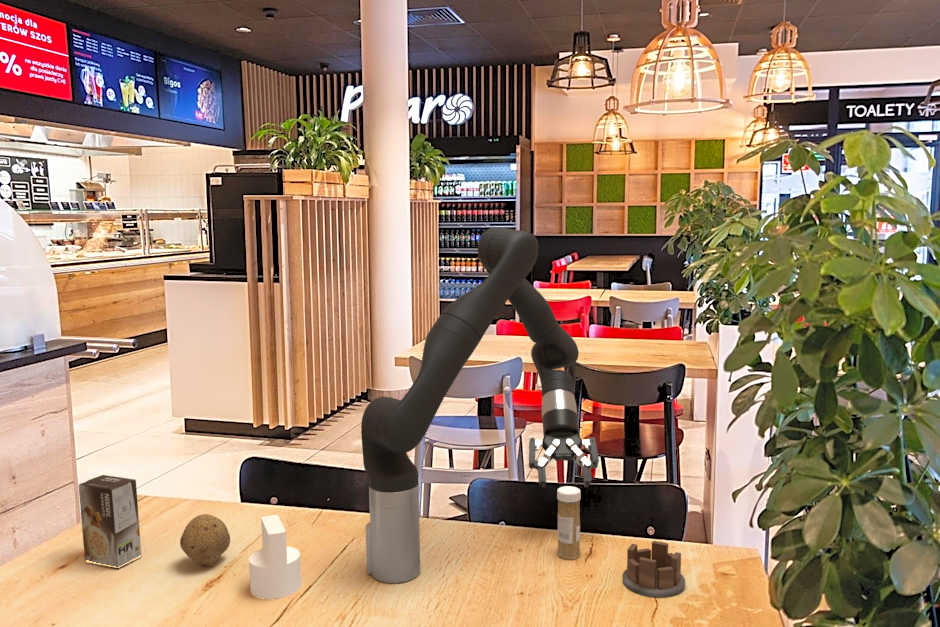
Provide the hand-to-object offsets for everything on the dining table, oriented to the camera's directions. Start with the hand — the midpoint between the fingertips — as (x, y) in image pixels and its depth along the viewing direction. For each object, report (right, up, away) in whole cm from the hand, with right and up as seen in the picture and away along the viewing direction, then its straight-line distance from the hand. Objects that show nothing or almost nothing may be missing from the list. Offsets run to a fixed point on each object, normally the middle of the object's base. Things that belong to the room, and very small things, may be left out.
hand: (565, 485), depth 157 cm
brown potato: (-71, -14, -6) cm, 72 cm away
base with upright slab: (-55, -15, -16) cm, 59 cm away
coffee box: (-90, -14, -3) cm, 91 cm away
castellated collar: (+14, -14, -16) cm, 25 cm away
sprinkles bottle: (0, -13, -4) cm, 14 cm away
